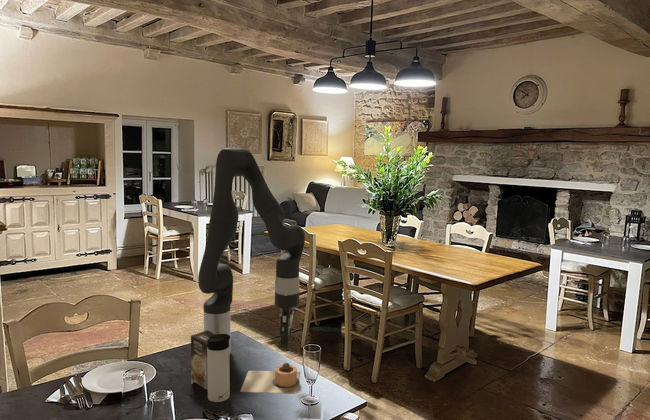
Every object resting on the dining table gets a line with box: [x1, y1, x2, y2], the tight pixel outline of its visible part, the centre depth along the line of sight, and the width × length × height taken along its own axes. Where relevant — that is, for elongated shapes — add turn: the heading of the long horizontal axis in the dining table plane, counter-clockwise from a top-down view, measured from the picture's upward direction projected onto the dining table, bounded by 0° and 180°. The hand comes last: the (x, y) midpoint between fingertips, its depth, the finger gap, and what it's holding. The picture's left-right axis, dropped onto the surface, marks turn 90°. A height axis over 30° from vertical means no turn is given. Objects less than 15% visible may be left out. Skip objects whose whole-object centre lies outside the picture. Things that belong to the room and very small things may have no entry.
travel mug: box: [207, 334, 231, 403], centre depth 138 cm, size 6×7×20 cm
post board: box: [239, 362, 301, 395], centre depth 149 cm, size 17×14×8 cm
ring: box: [274, 364, 298, 387], centre depth 149 cm, size 6×6×4 cm
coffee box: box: [190, 330, 216, 391], centre depth 148 cm, size 9×6×16 cm
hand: (286, 340), depth 147 cm, fingers open, 8 cm apart
